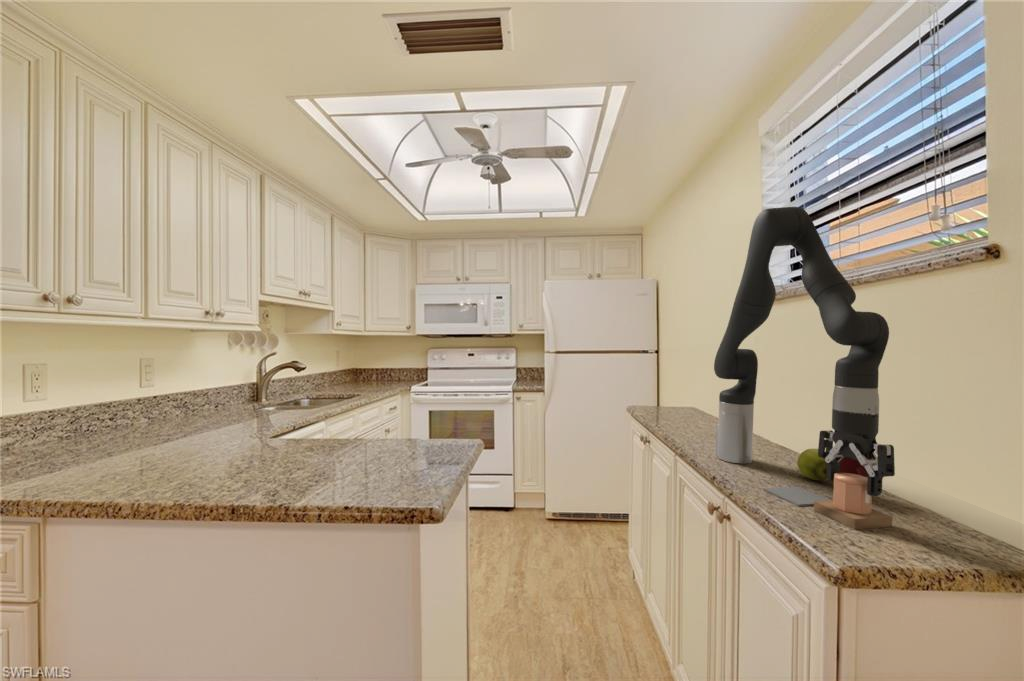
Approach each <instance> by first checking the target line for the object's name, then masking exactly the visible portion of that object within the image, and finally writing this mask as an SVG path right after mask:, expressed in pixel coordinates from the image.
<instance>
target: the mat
mask: <svg viewBox="0 0 1024 681" xmlns="http://www.w3.org/2000/svg"><path fill="white" fill-rule="evenodd" d="M763 491H765V492H766V493H769V494H771V495H773V496H775V497H777V498H779V497H780V498H779V499H781V498H782V500H784V501H786V502H788V503H790V504H792V503H793V504H792V505H794V504H795V505H794V506H796V507H807V506H811V507H812V506H814V501H827V500H831V498H829V497H825V496H823V495H820V494H818V493H815V492H813V491H811V490H808V489H806V488H803V487H801V486H783V487H764V488H763Z"/></svg>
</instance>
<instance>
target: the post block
mask: <svg viewBox="0 0 1024 681" xmlns="http://www.w3.org/2000/svg"><path fill="white" fill-rule="evenodd" d="M813 512H816V513H818V514H820V515H822V516H825V517H827V518H829V519H831V520H834V521H835V522H837V523H840V524H842V525H844V526H846V527H849V528H850V529H853V530H862V529H865V530H866V529H876V528H889V527H893V516H892V515H889V514H888V513H885V512H883V511H881V510H877V509H875V508H873V507H872V508H871V514H856V513H851V512H846V511H843V510H841V509H838V508H836V507H834V504H833V499H830V500H827V501H814V505H813Z"/></svg>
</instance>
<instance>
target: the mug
mask: <svg viewBox="0 0 1024 681" xmlns="http://www.w3.org/2000/svg"><path fill="white" fill-rule="evenodd" d="M867 460H870V458H868V459H867ZM838 464H840V473H850V474H856V475H861V476H864V477H867V478H868V476H870V475H869V474H868V472H867V470H866V469H865V467H864V466H862V465H861V464H860V462H859V460H854V459H852V458H850V457H843V458H842V459H841V460H840V461H839V462H838Z"/></svg>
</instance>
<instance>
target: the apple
mask: <svg viewBox="0 0 1024 681" xmlns="http://www.w3.org/2000/svg"><path fill="white" fill-rule="evenodd" d="M796 461H797V462H796V463H797V468H798V470H799V472H800V473H801V474H802V475H803V476H805V477H807V478H808V479H810V480H812V481H813V480H814V481H825V480H828V477H827V462H826V461H825V459H823V458H820V457H819V456H818V448H808V449H807V448H806V450H803V451H802V452H801V453H800V454H799V456H798V458H797V460H796Z"/></svg>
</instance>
